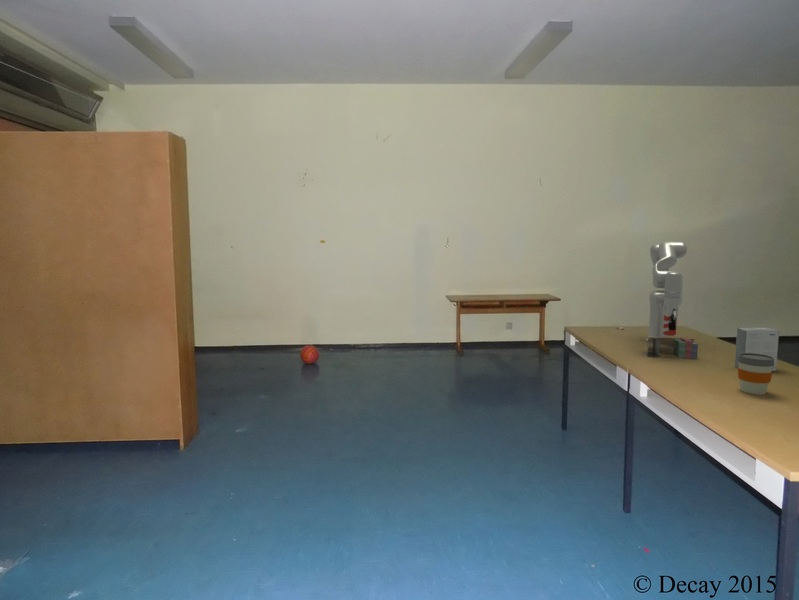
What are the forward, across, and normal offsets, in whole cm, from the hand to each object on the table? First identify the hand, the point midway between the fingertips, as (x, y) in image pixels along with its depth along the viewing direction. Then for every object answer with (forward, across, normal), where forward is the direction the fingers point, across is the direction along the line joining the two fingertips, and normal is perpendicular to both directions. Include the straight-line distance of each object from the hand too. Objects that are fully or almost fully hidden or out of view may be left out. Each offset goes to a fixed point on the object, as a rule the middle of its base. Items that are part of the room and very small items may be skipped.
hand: (669, 328), depth 269 cm
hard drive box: (+16, +18, +34) cm, 42 cm away
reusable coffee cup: (+16, +58, +16) cm, 62 cm away
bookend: (+16, -3, -8) cm, 18 cm away
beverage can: (+4, 0, 0) cm, 4 cm away
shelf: (+16, -4, +3) cm, 16 cm away
